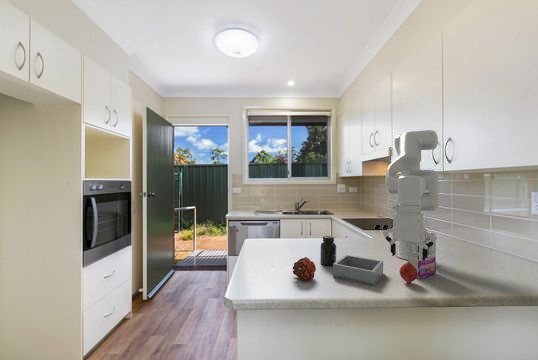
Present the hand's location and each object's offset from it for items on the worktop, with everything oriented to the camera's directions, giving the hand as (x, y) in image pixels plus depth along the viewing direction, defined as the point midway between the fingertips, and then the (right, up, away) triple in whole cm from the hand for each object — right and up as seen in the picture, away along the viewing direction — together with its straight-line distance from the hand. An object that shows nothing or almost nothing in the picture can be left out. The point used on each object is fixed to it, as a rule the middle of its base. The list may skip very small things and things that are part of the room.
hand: (408, 257), depth 94 cm
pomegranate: (0, -10, +1) cm, 10 cm away
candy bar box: (+10, -10, +10) cm, 17 cm away
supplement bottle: (-24, -10, +22) cm, 34 cm away
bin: (-15, -9, +8) cm, 20 cm away
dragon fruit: (-37, -10, +5) cm, 39 cm away
